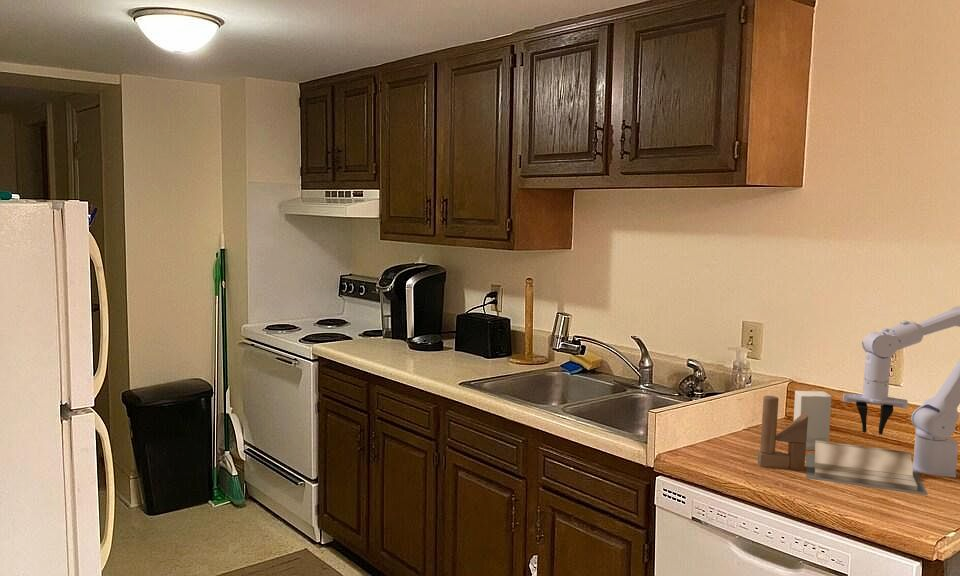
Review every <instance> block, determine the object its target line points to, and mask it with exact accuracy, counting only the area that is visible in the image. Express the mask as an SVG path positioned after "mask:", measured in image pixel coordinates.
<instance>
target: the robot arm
mask: <svg viewBox="0 0 960 576" xmlns="http://www.w3.org/2000/svg"><path fill="white" fill-rule="evenodd" d="M954 327H959V328H960V305H958V306H953V307H952V308H951V309H949V310H946V311H944V312H942V313H939V314H937V315H934V316H932V317H930V318H926V319H925V320H921V321H920V322H915V321H913V320H910V321H908V320H902V321H900V324H897V325H894V326H892V327H890V328H887V327H884V328H882V331H881V332H878V331H872V332H869V333H868V334H866V336H865V337H864V339H863V341H861V346H862V349H863V350H864V352H865V359H864V360H865V361H864V371H863V373H864V374H863V383H862V384H863V386H862V393H845V392H843V395H842V402H843V403H855V405H856V409H857V411H858V413H859V416H860V420H861V427H862V429H861V430H862V433H864V434H866V433H867V417H868V405H874V406H875V405H876V406H880V414H879V415H880V417H879V424H878V435H880V436H881V435H883V432H884V429H885V426H886V424H887V422H888V420H889V418H890V417H891V415H892V414H893V412H894V408H902V409H905V410H907V409H908V404H909V403H908V400H907V399H904V398H897V397H893V396H892V397H890V396H889V385H890V375H891V364H892V363H891V361H892V357H893V356H894V355H895V354H896V352H897V351H899V350H902V349H905V348H907V347H910V346H913V345H916V344H919V343H921V342H922V340H923V339H924V337H925V336H927V335H930V334H934V333H937V332H939V331H943V330H947V329H950V328H954ZM959 406H960V359H959V360H958V361H957V362H956V364H955V366H954V367H953V369H952V370H951V372H950V373H949V375H948V376H947V377H946V379H945V381H944V382H943V384H942V385H941V386H940V388H939V390H938V391H937V393H935V395H934V396H933V397H931V398H927V399H926V400H925V401H924V402H923V403H922V405H920V406H919V407H917V408H916V409H914V410H913V412H912V414H911V417H910V418H911V419H910V422H911V423H912V426H913V427H914V428H915V429H914V430H915V436H914V437H915V438H914V447H913V449H914V450H913V459H912V460H913V461H912V470H913V472H918V474H919V473H920V474H926V475H933V476H940V477H942V476H943V477H950V478H957V464H958V454H959V453H958V451H959V450H958V449H959V445H958V441H957V439H954V438H951V437H952V436H953V435H954V433H955V431H956V425H957V422H958V420H959V419H960V415H959V411H958V407H959Z"/></svg>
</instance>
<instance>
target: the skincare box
mask: <svg viewBox="0 0 960 576" xmlns="http://www.w3.org/2000/svg"><path fill="white" fill-rule="evenodd" d="M832 398H833V396H832V395H830V394H828V392H825V391H824V390H818V391H817V390H795V391H794V406H793V421H794V420H795V419H797V418H798V417H799V416H800V415H802V414H803V413H805V414H806V415H807V416H808V425H807V439H806V451H811V452H812V451H813V452H815V442H816V440H817V441H825V442H830V430H831V429H830V428H831V412H832V411H831V409H832Z"/></svg>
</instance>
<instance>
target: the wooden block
mask: <svg viewBox="0 0 960 576" xmlns="http://www.w3.org/2000/svg"><path fill="white" fill-rule="evenodd" d="M762 402H763V403H762V414H761V415H762V416H761V428H760V429H761V432H760V447H759V450H758V451H757V464H758V466H759V467H760V468H771V469H781V470H784V469H785V470H798V471H799V470H800V471H805V468H806V453H807V452H806V451H807V450H806V439H807V425H808V416H807V415H806V414H805V413H803V414H802V415H800V416H799V417H798V418H797V419H795V420H794V419H793V421H791V422H790V423H789V424H788V425H786V427H784V428H782V430H781V431H780V432H778V433H777V431H778V430H777V427H778V412H779V397H778V396H775V395H764V396H763V399H762ZM776 442H784V443H787V453H786V452H783V451H779V450H778V451H776V446H777V445H776Z"/></svg>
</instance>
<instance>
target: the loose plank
mask: <svg viewBox="0 0 960 576" xmlns="http://www.w3.org/2000/svg"><path fill="white" fill-rule="evenodd" d="M814 455H815V463H818V464H826V465H833V466H840V467H848V468H855V469H863V470H870V471H878V472H885V473H892V474H900V475H907V476H913V470H912V462H913V461H912V460H913V459H912V452H911V451H903V450H896V449H888V448H882V447H881V448H880V447H872V446H871V447H870V446H864V445H854V444H848V443H839V442H833V441H832V442H831V441H829V442H825V441H817V440H816V442H815V451H814Z"/></svg>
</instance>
